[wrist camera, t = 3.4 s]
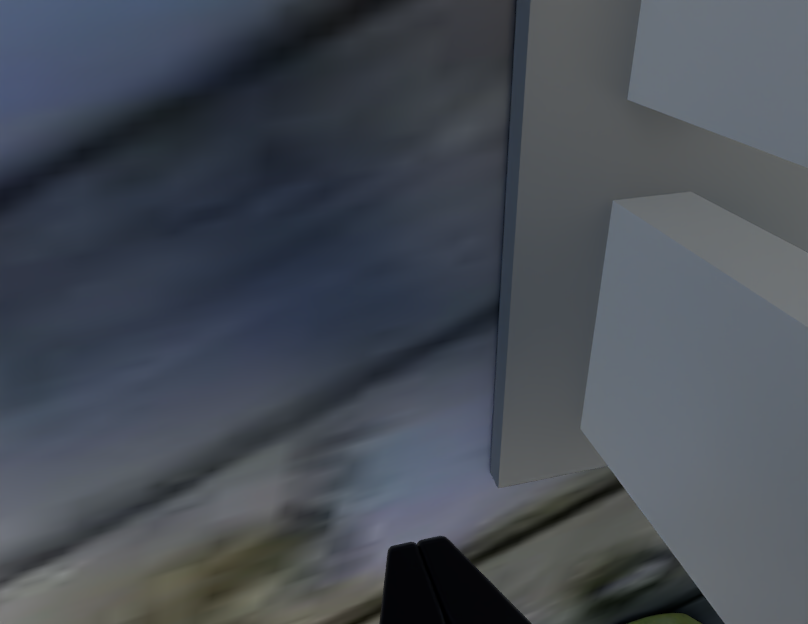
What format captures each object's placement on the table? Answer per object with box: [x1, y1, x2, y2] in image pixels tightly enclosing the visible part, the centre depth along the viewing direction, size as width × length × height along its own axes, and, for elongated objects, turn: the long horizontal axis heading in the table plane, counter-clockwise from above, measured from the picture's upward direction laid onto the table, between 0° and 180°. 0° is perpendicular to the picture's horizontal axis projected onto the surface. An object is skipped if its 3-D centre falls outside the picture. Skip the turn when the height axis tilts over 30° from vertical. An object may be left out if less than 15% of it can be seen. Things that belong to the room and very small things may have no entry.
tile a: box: [580, 192, 808, 624], centre depth 12 cm, size 2×6×7 cm, turn 2°
